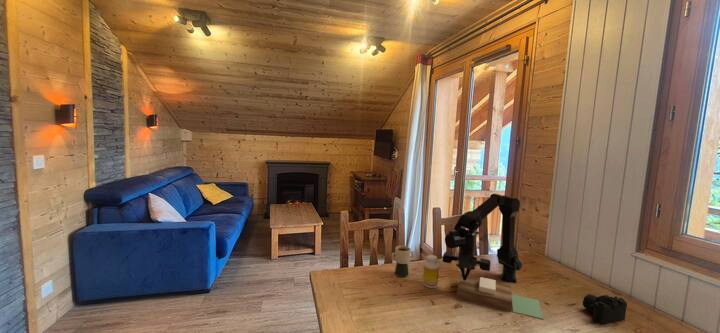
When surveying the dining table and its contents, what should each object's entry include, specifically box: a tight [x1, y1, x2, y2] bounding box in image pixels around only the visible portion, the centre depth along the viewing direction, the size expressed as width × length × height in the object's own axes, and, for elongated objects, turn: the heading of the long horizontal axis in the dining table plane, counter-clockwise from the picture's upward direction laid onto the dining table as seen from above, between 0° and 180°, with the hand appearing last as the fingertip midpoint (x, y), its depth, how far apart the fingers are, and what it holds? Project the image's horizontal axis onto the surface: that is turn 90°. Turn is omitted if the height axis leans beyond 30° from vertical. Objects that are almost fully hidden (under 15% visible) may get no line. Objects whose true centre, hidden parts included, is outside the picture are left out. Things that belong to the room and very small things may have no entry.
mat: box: [512, 293, 544, 320], centre depth 118 cm, size 14×10×1 cm
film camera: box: [582, 294, 628, 325], centre depth 114 cm, size 15×10×9 cm, turn 107°
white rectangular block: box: [479, 276, 497, 295], centre depth 124 cm, size 9×6×2 cm, turn 156°
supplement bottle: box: [422, 254, 440, 289], centre depth 132 cm, size 7×7×13 cm
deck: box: [456, 274, 513, 312], centre depth 124 cm, size 14×20×4 cm
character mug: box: [391, 245, 414, 278], centre depth 140 cm, size 11×7×13 cm, turn 104°
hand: (464, 280), depth 127 cm, fingers closed
